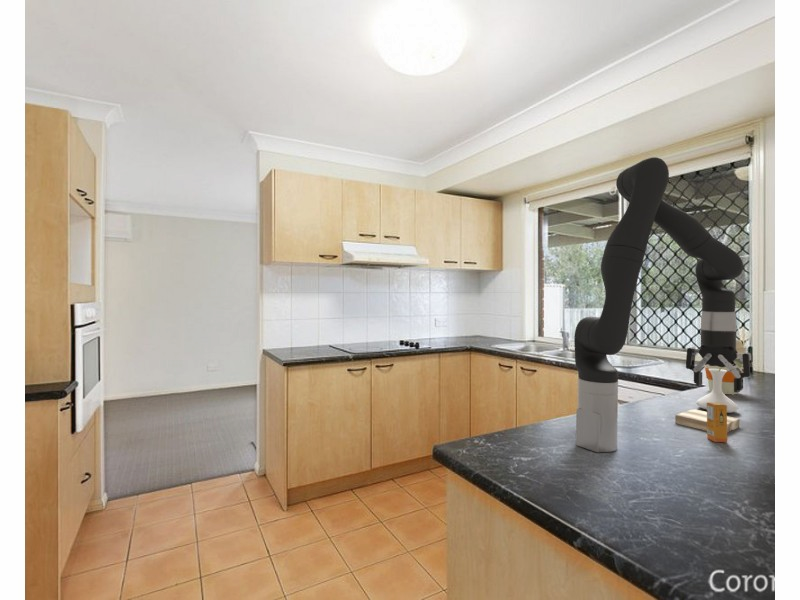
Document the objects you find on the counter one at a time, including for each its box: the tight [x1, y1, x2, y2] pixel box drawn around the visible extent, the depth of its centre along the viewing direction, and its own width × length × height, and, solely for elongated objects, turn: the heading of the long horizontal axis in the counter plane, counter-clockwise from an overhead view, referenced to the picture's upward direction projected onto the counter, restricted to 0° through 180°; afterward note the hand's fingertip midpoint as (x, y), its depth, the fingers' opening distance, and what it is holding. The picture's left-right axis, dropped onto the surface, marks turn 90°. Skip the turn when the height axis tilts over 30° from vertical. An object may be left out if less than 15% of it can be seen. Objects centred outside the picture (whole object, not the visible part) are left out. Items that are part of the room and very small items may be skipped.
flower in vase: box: [695, 339, 747, 414], centre depth 138 cm, size 13×11×25 cm
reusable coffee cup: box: [704, 359, 743, 396], centre depth 165 cm, size 13×13×15 cm
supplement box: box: [706, 403, 728, 443], centre depth 110 cm, size 3×3×10 cm
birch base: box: [674, 408, 741, 433], centre depth 123 cm, size 12×12×2 cm
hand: (717, 388), depth 110 cm, fingers open, 8 cm apart
